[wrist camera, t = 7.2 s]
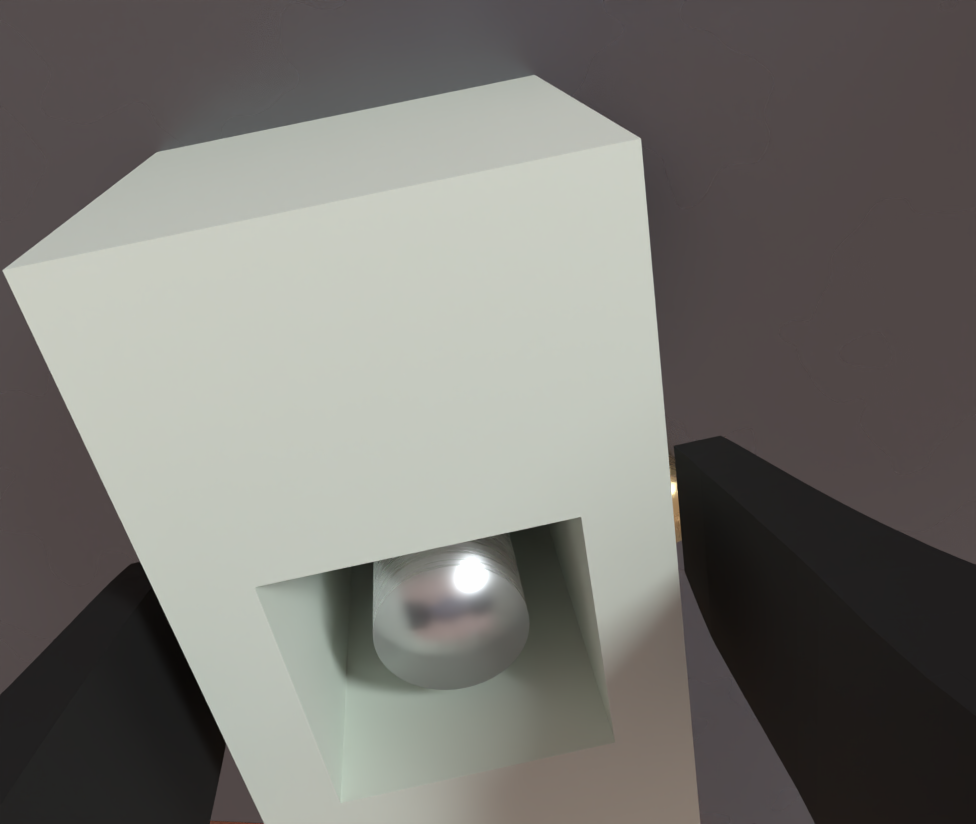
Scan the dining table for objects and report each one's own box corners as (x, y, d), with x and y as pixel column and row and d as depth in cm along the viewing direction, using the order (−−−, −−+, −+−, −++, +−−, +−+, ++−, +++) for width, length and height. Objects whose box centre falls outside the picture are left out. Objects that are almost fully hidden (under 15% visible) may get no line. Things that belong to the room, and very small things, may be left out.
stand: (1273, 10, 12) (1765, 26, 8) (804, 820, 20) (924, 1058, 16) (-522, -573, 8) (-1655, -1269, 4) (-248, 759, 16) (-495, 1067, 11)
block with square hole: (614, 640, 16) (706, 900, 11) (350, 698, 15) (340, 984, 11) (534, 75, 11) (641, 138, 6) (156, 151, 11) (2, 270, 6)
